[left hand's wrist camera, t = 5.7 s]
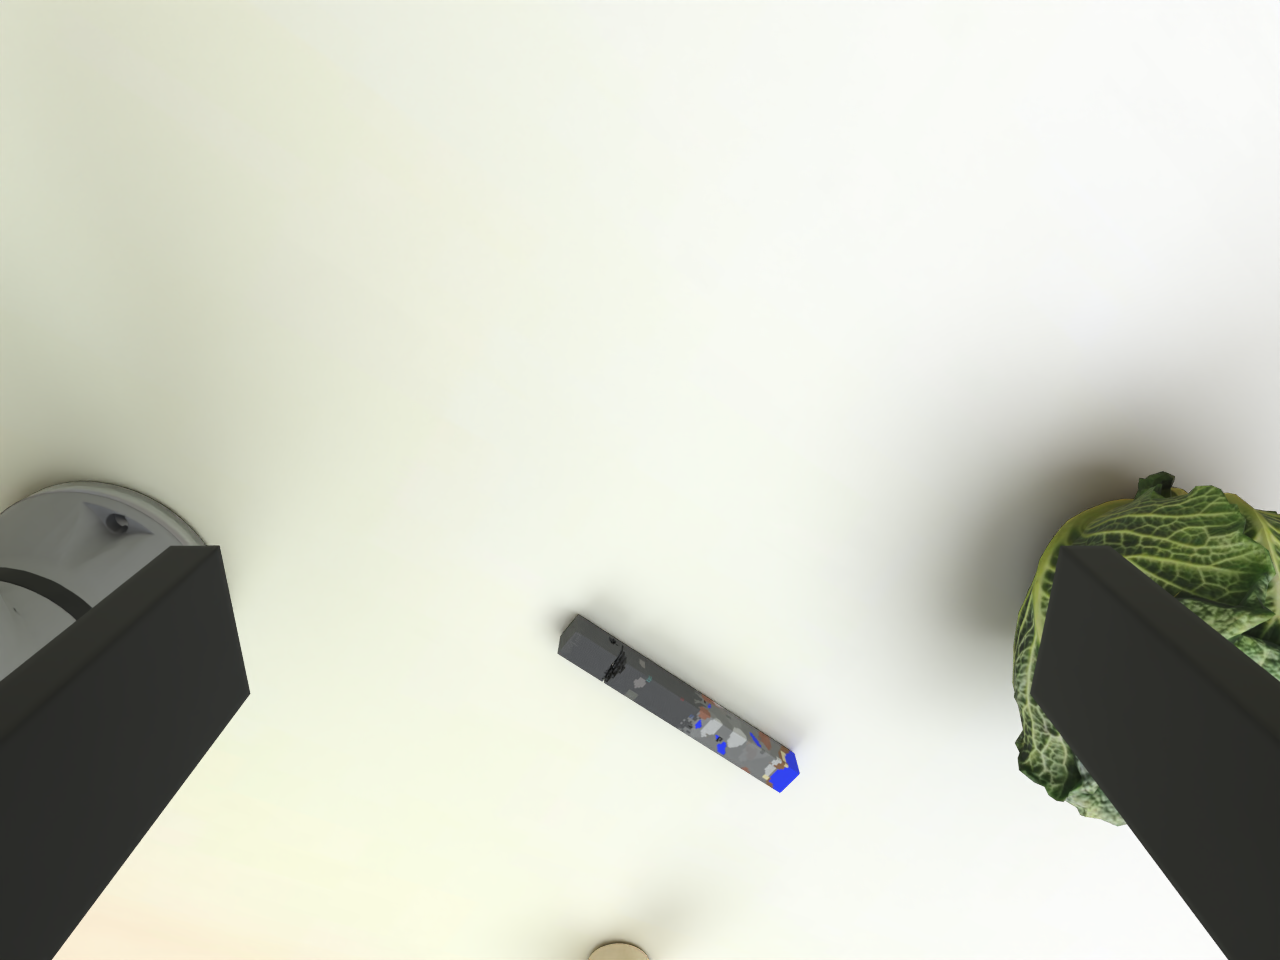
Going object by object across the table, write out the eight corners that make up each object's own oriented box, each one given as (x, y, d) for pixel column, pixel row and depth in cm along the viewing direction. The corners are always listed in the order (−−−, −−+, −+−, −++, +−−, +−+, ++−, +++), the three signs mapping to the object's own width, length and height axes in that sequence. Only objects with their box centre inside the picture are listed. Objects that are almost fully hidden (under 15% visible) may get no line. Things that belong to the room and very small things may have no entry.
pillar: (576, 631, 53) (803, 776, 58) (578, 614, 55) (797, 755, 60) (557, 653, 54) (783, 795, 58) (560, 636, 56) (778, 774, 60)
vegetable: (968, 554, 62) (955, 800, 48) (1100, 354, 47) (1132, 623, 34) (1241, 639, 59) (1307, 926, 45) (1467, 453, 45) (1660, 789, 31)
